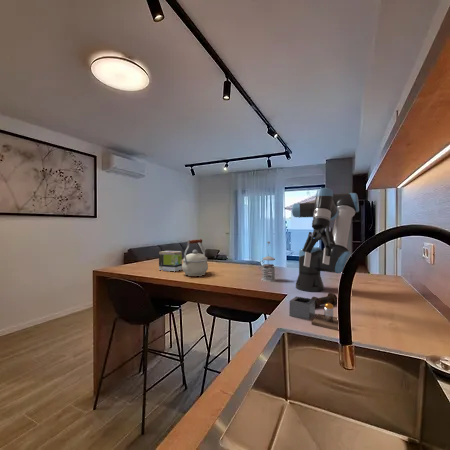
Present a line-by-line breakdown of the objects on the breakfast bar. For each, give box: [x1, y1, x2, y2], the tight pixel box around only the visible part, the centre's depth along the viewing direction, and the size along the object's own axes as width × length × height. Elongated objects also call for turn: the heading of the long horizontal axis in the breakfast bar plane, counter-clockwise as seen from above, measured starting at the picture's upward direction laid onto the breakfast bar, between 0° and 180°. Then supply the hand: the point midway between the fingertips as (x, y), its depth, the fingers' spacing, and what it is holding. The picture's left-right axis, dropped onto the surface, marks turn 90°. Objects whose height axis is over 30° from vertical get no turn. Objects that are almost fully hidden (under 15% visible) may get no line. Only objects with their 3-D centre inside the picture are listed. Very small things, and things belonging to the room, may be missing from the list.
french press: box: [258, 241, 277, 283], centre depth 171 cm, size 10×12×25 cm
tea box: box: [158, 250, 183, 273], centre depth 203 cm, size 15×10×15 cm
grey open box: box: [288, 296, 316, 321], centre depth 108 cm, size 8×8×6 cm
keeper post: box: [323, 303, 334, 322], centre depth 100 cm, size 3×3×7 cm
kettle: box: [181, 238, 209, 277], centre depth 188 cm, size 25×18×25 cm
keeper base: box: [311, 313, 339, 331], centre depth 100 cm, size 10×10×1 cm
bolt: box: [310, 292, 338, 309], centre depth 120 cm, size 6×5×15 cm
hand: (315, 265), depth 115 cm, fingers open, 13 cm apart
